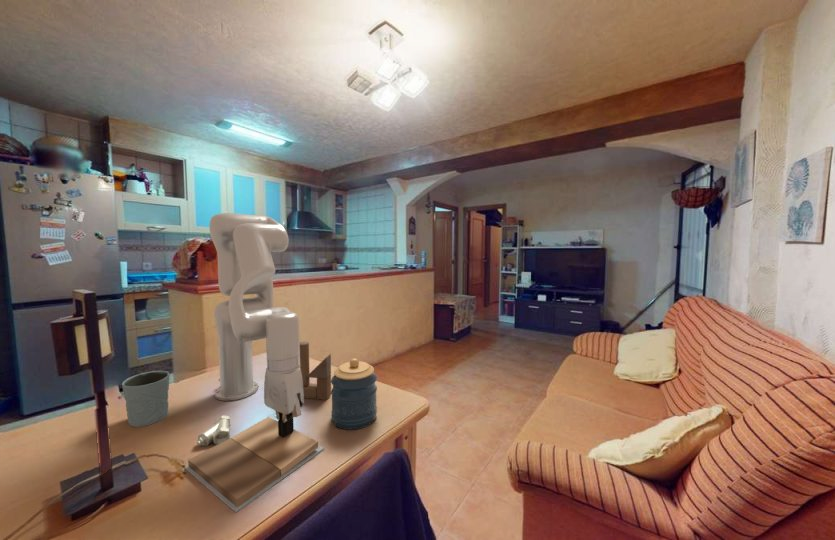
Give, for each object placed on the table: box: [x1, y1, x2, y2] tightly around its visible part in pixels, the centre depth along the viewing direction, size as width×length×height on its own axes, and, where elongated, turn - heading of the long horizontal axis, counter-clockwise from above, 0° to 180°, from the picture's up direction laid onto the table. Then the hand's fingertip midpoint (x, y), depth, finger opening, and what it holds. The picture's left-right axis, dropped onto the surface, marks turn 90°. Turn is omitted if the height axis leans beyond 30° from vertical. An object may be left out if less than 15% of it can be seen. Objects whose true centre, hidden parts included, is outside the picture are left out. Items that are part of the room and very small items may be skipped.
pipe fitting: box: [197, 415, 231, 447], centre depth 79 cm, size 8×4×7 cm
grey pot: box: [121, 370, 171, 427], centre depth 87 cm, size 10×10×12 cm
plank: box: [230, 416, 319, 476], centre depth 75 cm, size 20×10×2 cm, turn 59°
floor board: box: [187, 437, 280, 507], centre depth 67 cm, size 20×9×2 cm, turn 58°
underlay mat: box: [184, 444, 325, 513], centre depth 71 cm, size 21×21×1 cm
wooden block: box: [299, 340, 332, 400], centre depth 100 cm, size 4×11×18 cm, turn 83°
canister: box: [330, 357, 378, 430], centre depth 88 cm, size 13×13×18 cm
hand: (286, 433), depth 77 cm, fingers closed
